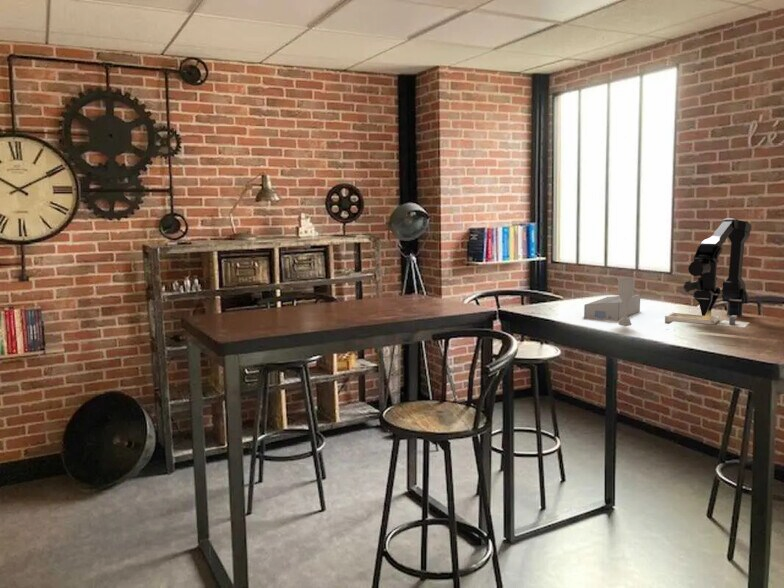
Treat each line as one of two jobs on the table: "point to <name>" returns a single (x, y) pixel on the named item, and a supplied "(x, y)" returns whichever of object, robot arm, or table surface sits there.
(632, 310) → the warehouse
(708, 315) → the tan notched block
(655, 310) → the table surface
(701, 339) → the table surface
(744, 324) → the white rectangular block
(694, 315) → the tray
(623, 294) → the chalice
